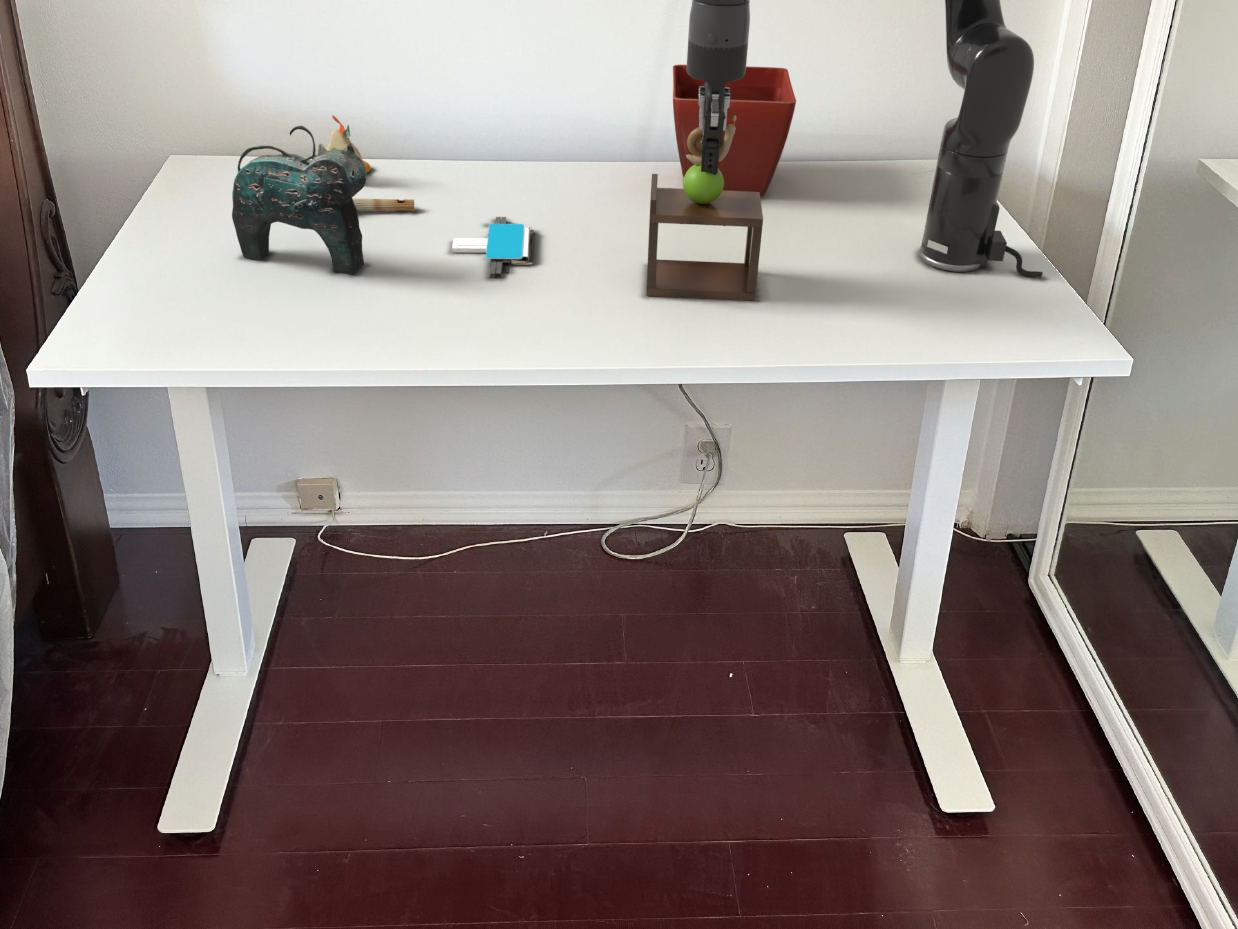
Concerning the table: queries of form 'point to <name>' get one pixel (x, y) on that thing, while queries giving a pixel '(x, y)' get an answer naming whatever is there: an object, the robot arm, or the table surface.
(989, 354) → the table surface
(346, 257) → the ceramic cat
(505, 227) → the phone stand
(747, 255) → the box
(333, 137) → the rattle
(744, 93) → the flower pot
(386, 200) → the ribbed wooden cylinder
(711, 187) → the snail figurine
